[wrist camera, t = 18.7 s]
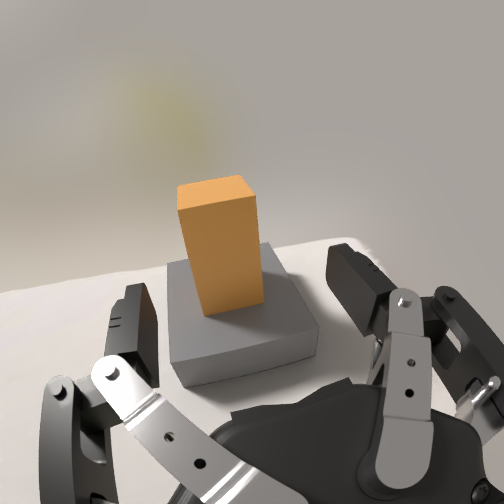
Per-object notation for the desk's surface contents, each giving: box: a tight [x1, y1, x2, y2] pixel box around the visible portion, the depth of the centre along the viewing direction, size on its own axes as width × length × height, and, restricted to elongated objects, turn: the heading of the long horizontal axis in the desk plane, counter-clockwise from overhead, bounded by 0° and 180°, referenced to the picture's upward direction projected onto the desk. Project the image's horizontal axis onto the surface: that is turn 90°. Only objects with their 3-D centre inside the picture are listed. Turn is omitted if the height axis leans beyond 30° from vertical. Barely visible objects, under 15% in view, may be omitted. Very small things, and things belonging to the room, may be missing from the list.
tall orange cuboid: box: [177, 175, 264, 316], centre depth 23 cm, size 5×5×10 cm
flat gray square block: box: [167, 242, 319, 388], centre depth 26 cm, size 14×12×8 cm
